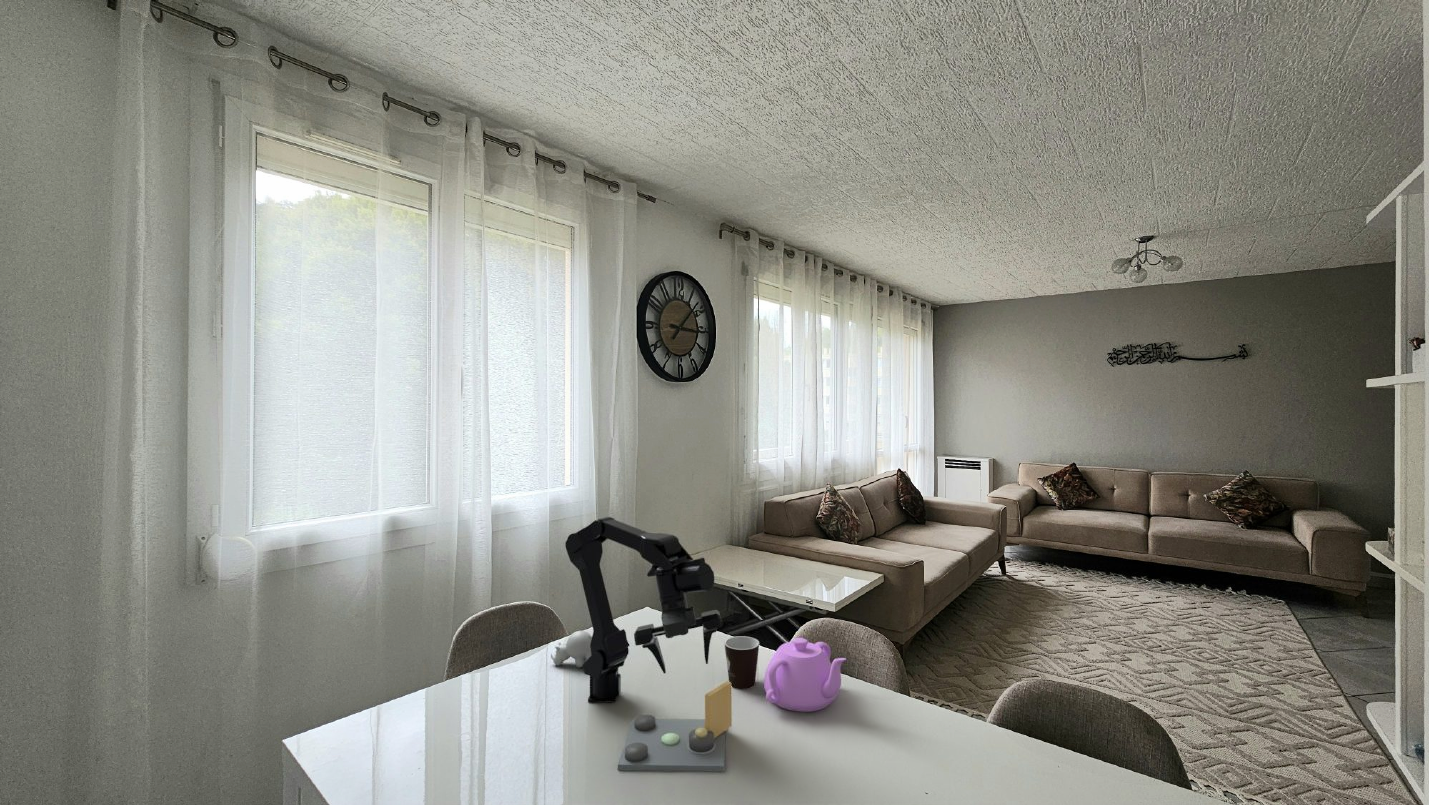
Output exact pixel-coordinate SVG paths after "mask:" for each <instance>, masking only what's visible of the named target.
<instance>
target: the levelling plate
mask: <svg viewBox="0 0 1429 805" xmlns="http://www.w3.org/2000/svg"><path fill="white" fill-rule="evenodd" d="M697 728H705V718H656V717H655V716H654V715H652V714H649V713H647V714H646V713H644V714H640V715H637V716H636V717H635V718H634V717H633V719H632V721H631V724H630V727H629V729H628V733H627V736H626V740H625V742H624V744H623V749H622V751H621V754H620V757H619V760H618V763H617V770H618V771H661V772H662V771H664V772H665V771H668V772H669V771H670V772H675V771H676V772H677V771H678V772H679V771H680V772H725V758H726V757H725V755H726V752H725V751H726V749H725V748H726V730H725V731H724V732H723V733H721V734H720V735H718V736H717V737H716V738H714V747H713V748H712V749H711V750H709V751H707V752H695V751H693V750H691V749H690V748H689V733H690V732H691V731H692V730H695V729H697Z"/></svg>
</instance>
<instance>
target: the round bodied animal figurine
mask: <svg viewBox="0 0 1429 805" xmlns="http://www.w3.org/2000/svg"><path fill="white" fill-rule="evenodd" d="M591 640H592V635H591V634H590V633H589V632H588V631H585V630H577V631H574V632H573V633H572V634H570V635H569V637H568V638H567V641H566V644H563V643H561V642H558V645H557V646H555V649H556V650H555V654H552V653H550V658H551V660H552V661H553V662H552V663H554V665H555V666H561V665H563V664H564V662H566V661H568V660H569V659H570V658H572V659H574V660H575V661H574V662H575V667H576V668H583V664H584V663H585V662H586V661H587V660H588V658H589V657H590V656H591V648H590V644H591Z"/></svg>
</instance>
